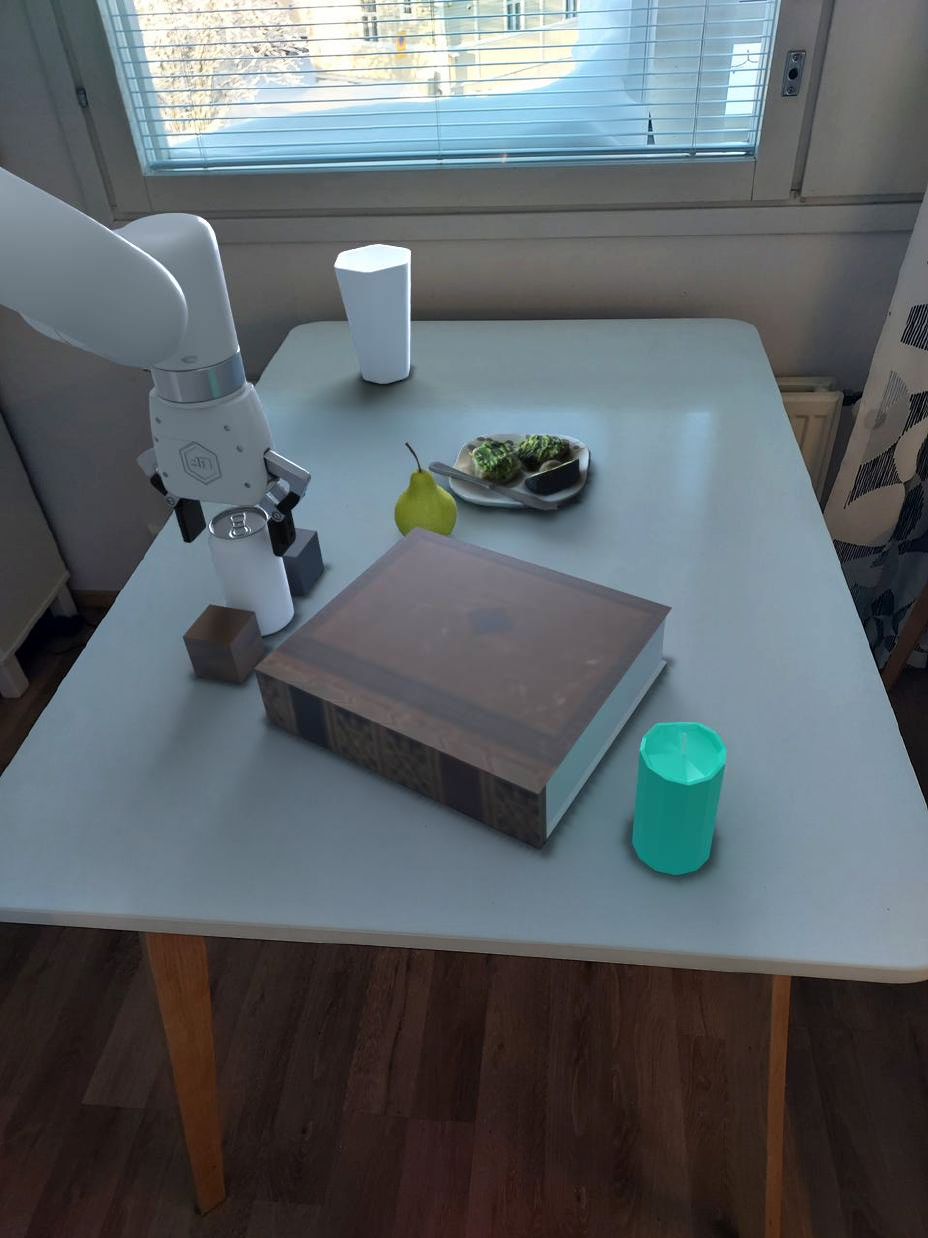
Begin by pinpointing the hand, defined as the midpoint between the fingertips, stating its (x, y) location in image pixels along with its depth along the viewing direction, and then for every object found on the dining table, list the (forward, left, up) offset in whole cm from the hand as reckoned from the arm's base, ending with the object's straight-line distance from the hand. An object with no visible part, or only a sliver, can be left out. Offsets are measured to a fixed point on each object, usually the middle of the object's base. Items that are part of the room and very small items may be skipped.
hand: (239, 541), depth 89 cm
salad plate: (+19, +32, -10) cm, 39 cm away
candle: (+44, -17, -10) cm, 48 cm away
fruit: (+12, +17, -10) cm, 24 cm away
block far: (0, +7, -10) cm, 12 cm away
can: (0, 0, -10) cm, 10 cm away
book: (+24, -5, -10) cm, 27 cm away
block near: (0, -7, -10) cm, 12 cm away
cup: (-9, +57, -10) cm, 59 cm away
